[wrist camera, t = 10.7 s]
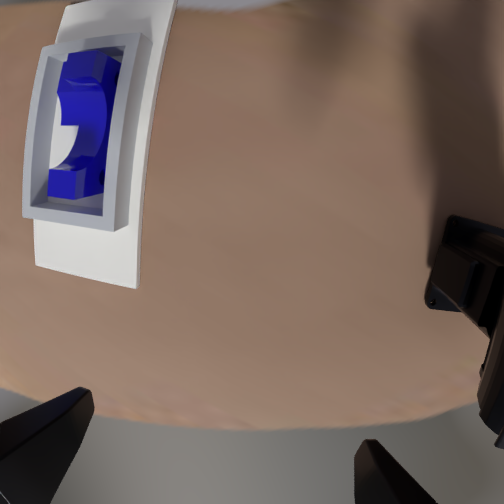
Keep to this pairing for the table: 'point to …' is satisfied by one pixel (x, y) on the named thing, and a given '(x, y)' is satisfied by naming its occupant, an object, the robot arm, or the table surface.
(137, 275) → the desk organizer
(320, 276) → the table surface
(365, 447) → the robot arm
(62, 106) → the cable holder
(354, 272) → the table surface
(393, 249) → the table surface
